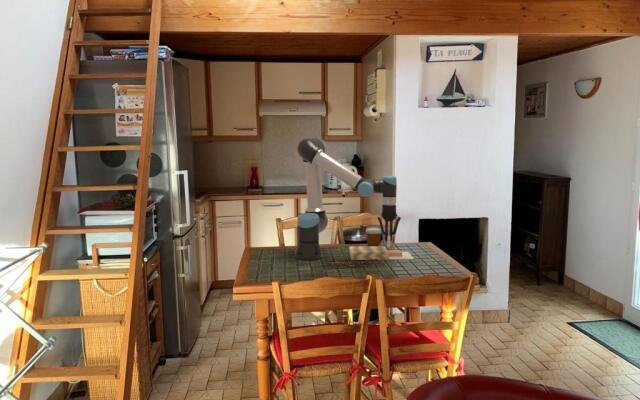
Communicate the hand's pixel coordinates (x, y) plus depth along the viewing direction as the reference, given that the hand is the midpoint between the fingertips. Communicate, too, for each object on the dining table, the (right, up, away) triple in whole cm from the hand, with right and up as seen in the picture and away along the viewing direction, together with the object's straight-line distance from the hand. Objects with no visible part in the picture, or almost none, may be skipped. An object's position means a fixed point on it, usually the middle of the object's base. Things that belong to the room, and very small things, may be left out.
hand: (388, 246), depth 264 cm
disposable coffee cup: (-6, -3, +18) cm, 19 cm away
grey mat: (+6, -5, +1) cm, 8 cm away
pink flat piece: (+3, -5, +1) cm, 6 cm away
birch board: (-11, -5, +1) cm, 12 cm away
